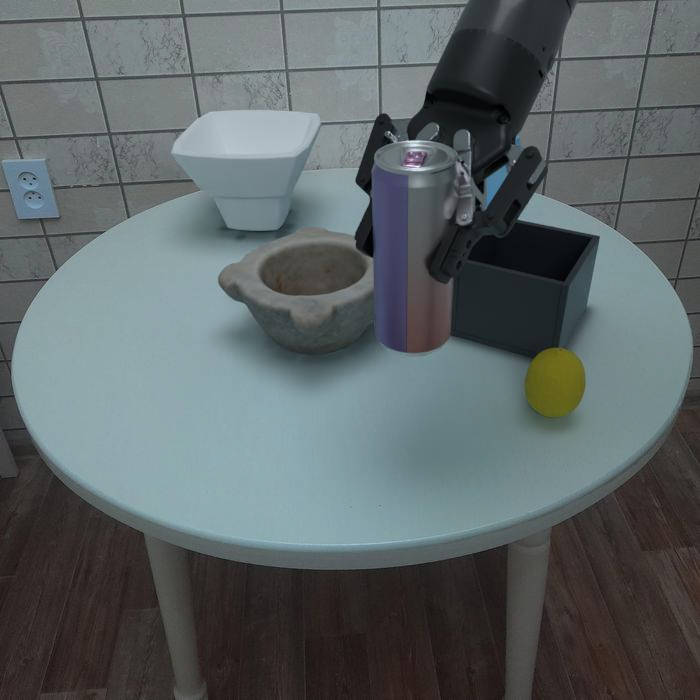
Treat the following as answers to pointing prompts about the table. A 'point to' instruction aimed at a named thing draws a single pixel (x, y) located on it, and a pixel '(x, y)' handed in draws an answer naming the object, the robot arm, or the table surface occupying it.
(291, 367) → the table surface
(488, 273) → the open box
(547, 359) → the lemon
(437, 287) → the beverage can
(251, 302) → the mortar
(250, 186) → the bowl
